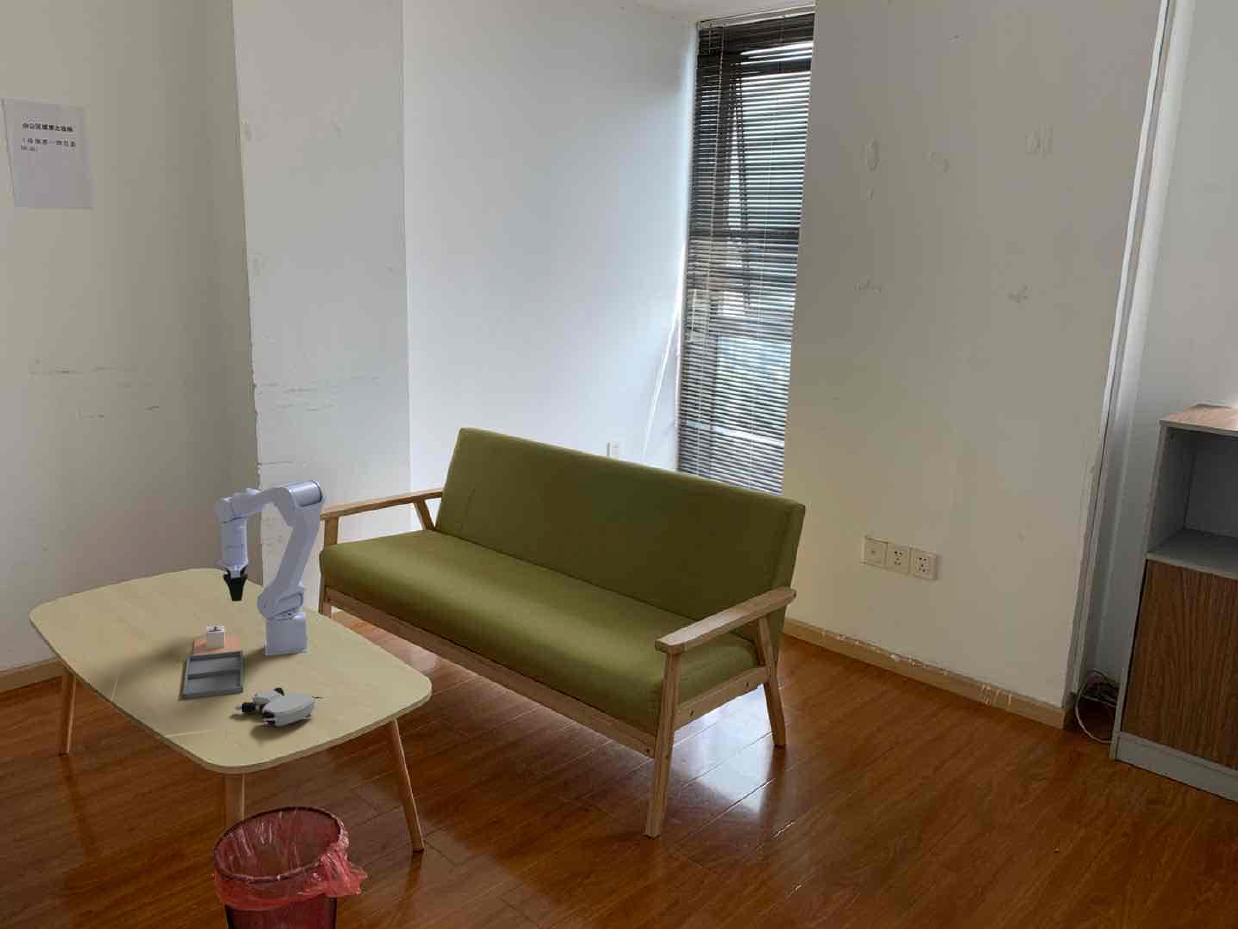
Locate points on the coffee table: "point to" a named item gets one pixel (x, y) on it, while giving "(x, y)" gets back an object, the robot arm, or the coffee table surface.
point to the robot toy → (280, 706)
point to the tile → (230, 645)
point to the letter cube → (215, 637)
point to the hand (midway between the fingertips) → (236, 595)
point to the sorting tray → (213, 674)
